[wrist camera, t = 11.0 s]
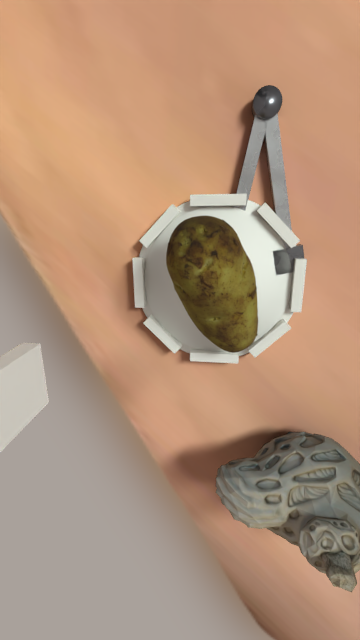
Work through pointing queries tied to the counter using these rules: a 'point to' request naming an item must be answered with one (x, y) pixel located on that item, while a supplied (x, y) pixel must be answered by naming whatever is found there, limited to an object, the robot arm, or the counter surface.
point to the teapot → (301, 499)
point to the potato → (214, 281)
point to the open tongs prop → (269, 163)
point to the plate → (259, 243)
